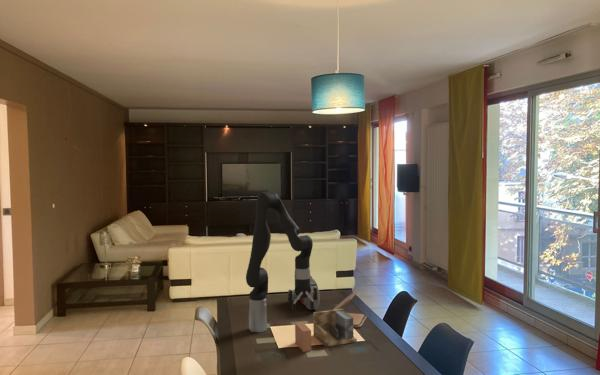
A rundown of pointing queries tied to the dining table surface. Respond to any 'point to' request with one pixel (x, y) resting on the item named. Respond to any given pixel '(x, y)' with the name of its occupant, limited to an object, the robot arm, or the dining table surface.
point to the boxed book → (303, 336)
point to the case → (357, 318)
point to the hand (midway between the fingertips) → (302, 309)
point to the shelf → (333, 327)
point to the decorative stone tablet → (306, 300)
